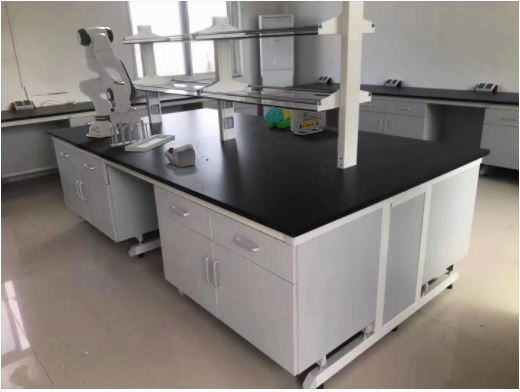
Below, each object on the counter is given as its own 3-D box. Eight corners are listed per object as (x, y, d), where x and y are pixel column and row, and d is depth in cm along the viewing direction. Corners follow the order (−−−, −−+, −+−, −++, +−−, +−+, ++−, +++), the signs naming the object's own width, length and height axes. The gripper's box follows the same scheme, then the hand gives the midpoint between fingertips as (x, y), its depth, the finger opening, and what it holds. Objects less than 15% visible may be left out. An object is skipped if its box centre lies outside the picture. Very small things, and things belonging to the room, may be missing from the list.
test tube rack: (112, 147, 262) (108, 125, 258) (110, 145, 266) (106, 124, 261) (151, 140, 275) (148, 119, 270) (149, 139, 278) (146, 118, 274)
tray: (125, 150, 251) (124, 146, 250) (156, 138, 280) (156, 134, 279) (145, 151, 246) (144, 147, 245) (175, 138, 275) (174, 134, 274)
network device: (319, 127, 283) (319, 97, 276) (328, 129, 276) (328, 98, 269) (288, 133, 271) (287, 101, 264) (297, 135, 264) (296, 103, 257)
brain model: (276, 130, 279) (276, 107, 275) (258, 127, 294) (258, 105, 289) (302, 126, 293) (303, 104, 288) (284, 123, 307) (284, 102, 302)
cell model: (175, 148, 203) (161, 142, 220) (178, 170, 207) (164, 162, 223) (200, 143, 209) (184, 138, 226) (202, 165, 213) (187, 158, 229)
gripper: (140, 107, 261) (144, 129, 266) (113, 107, 268) (117, 129, 273) (134, 109, 256) (138, 132, 261) (106, 109, 263) (110, 131, 268)
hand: (127, 130), depth 267 cm, fingers closed on test tube rack, 5 cm apart
